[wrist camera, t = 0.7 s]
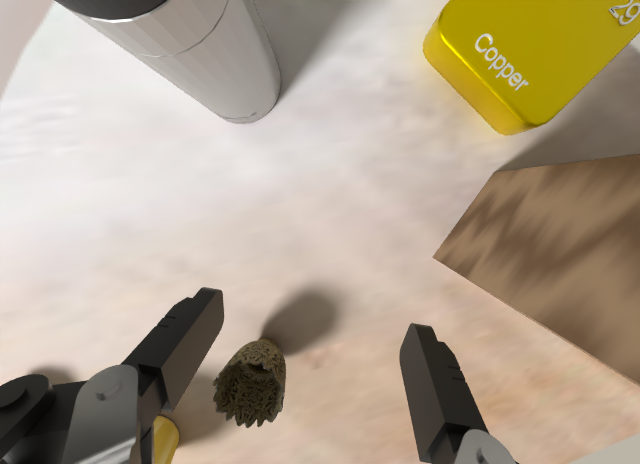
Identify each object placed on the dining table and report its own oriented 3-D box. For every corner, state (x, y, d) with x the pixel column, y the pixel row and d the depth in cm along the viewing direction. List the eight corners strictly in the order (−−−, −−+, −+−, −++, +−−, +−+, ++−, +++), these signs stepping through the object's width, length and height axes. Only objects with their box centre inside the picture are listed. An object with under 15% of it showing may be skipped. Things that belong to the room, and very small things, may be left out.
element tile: (413, 50, 27) (430, 20, 22) (519, -72, 25) (563, -134, 20) (505, 144, 28) (540, 134, 24) (614, 35, 26) (676, 0, 22)
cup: (241, 318, 32) (214, 359, 24) (297, 327, 32) (287, 370, 24) (236, 368, 34) (208, 423, 26) (290, 377, 33) (278, 434, 26)
